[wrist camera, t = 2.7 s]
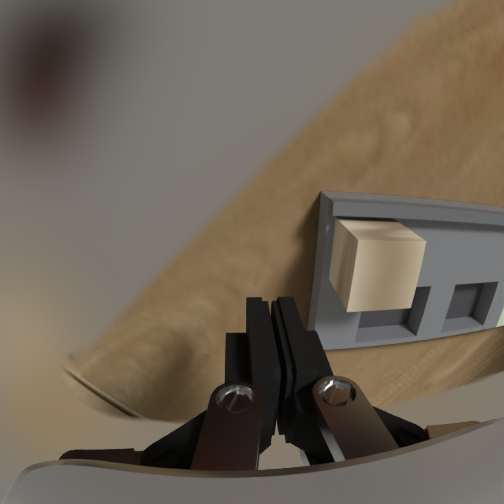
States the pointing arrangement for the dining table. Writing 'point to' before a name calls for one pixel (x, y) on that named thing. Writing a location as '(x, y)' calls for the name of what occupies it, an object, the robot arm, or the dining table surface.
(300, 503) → the robot arm
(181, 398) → the dining table surface
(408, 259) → the ash cube
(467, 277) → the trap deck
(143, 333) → the dining table surface
